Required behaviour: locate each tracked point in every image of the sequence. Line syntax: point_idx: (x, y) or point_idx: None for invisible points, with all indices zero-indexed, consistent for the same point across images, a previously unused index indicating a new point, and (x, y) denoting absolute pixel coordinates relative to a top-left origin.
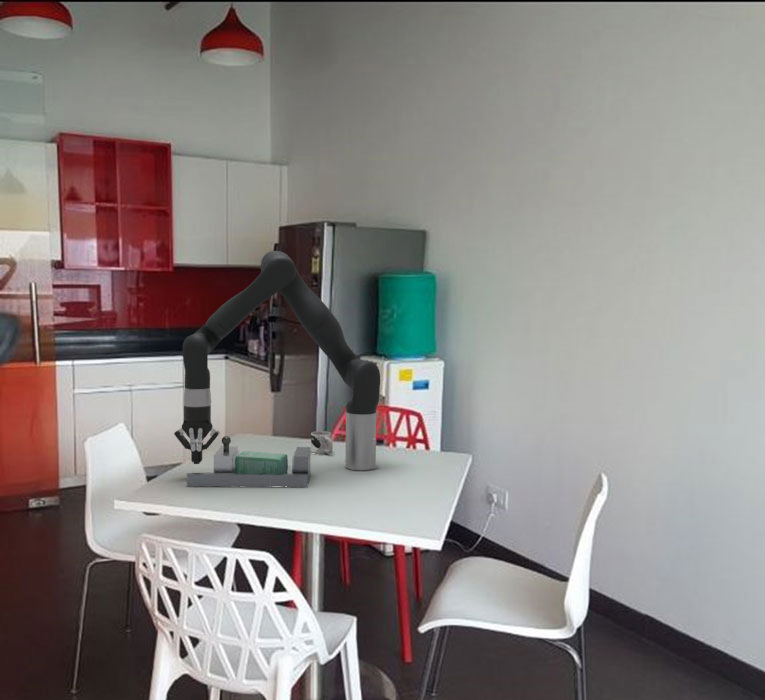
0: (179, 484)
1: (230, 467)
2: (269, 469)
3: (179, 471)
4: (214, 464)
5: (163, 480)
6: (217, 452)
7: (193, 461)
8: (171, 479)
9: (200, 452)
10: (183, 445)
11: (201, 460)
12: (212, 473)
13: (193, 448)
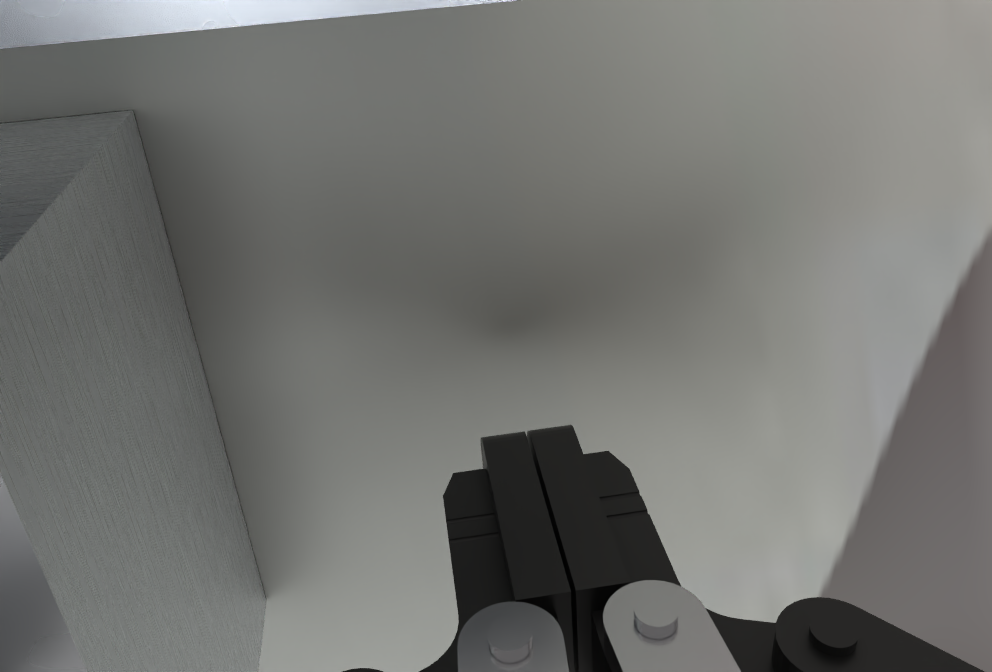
0: (661, 8)
1: None
2: None
3: (767, 568)
4: (6, 229)
5: (912, 190)
6: (33, 634)
7: (585, 459)
8: (814, 251)
9: (479, 610)
10: (934, 655)
11: (447, 510)
12: (14, 2)
13: (655, 636)
